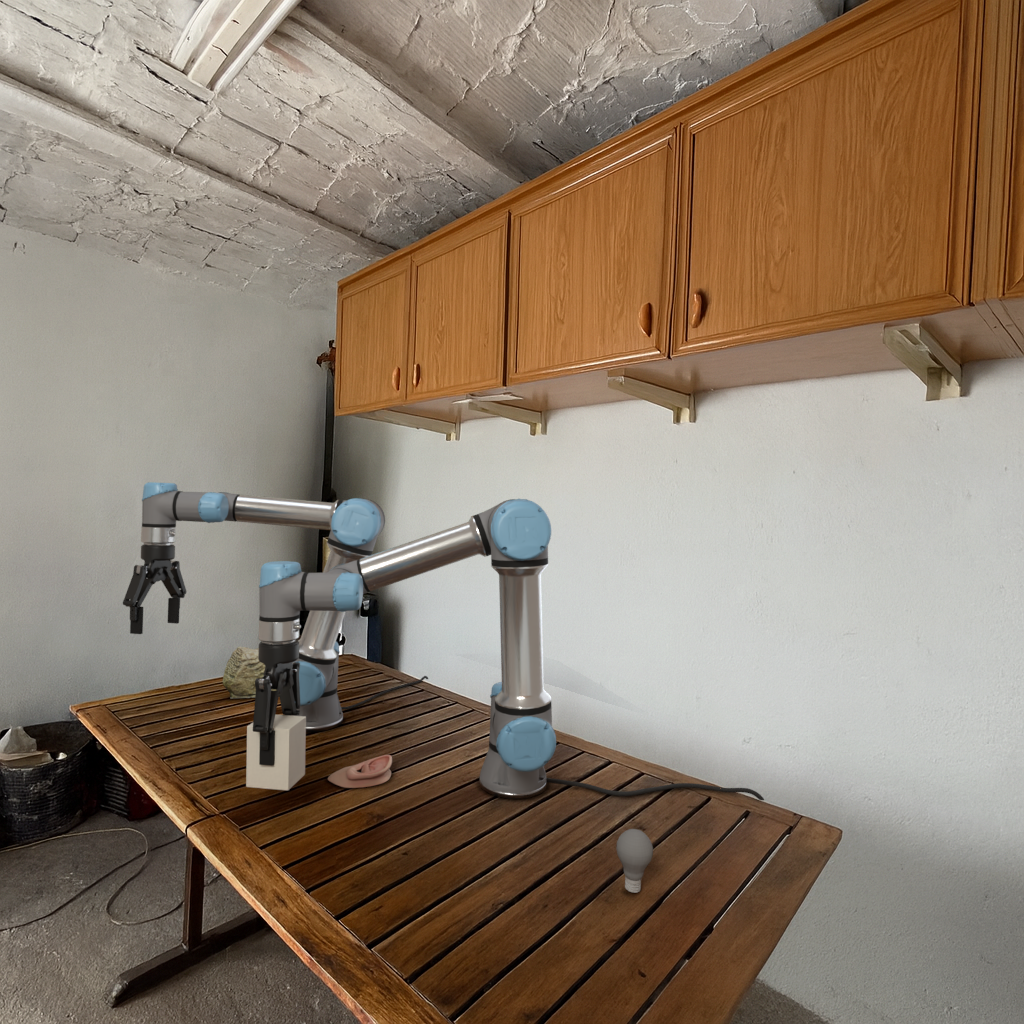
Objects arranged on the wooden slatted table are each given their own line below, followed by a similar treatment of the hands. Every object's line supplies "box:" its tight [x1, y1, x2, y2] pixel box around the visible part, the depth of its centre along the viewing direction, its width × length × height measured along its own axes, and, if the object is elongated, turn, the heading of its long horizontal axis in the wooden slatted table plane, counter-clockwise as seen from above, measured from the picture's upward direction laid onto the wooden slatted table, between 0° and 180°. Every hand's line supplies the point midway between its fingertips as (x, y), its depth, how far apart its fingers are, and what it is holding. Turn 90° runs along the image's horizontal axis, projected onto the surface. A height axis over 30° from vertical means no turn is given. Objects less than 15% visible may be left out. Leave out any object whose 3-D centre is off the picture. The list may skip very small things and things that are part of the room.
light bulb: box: [615, 828, 654, 894], centre depth 106 cm, size 6×6×10 cm
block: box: [245, 714, 307, 791], centre depth 125 cm, size 9×7×12 cm
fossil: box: [222, 646, 276, 699], centre depth 198 cm, size 9×18×15 cm, turn 132°
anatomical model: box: [327, 754, 393, 789], centre depth 143 cm, size 13×4×12 cm
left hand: (155, 628), depth 159 cm, fingers open, 13 cm apart
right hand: (277, 755), depth 125 cm, fingers closed on block, 7 cm apart
